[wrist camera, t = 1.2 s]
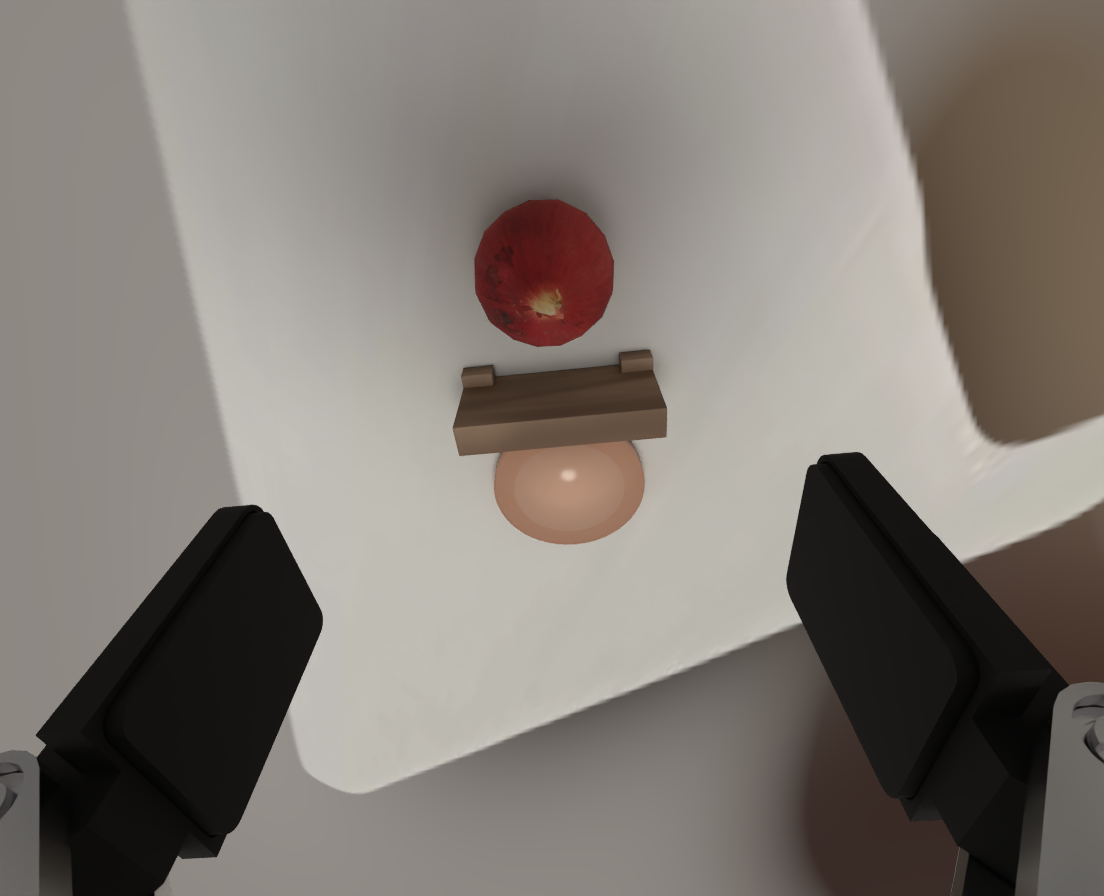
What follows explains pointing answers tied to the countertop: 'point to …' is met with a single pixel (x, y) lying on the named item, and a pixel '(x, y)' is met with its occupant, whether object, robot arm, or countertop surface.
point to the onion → (544, 273)
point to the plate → (570, 490)
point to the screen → (560, 407)
